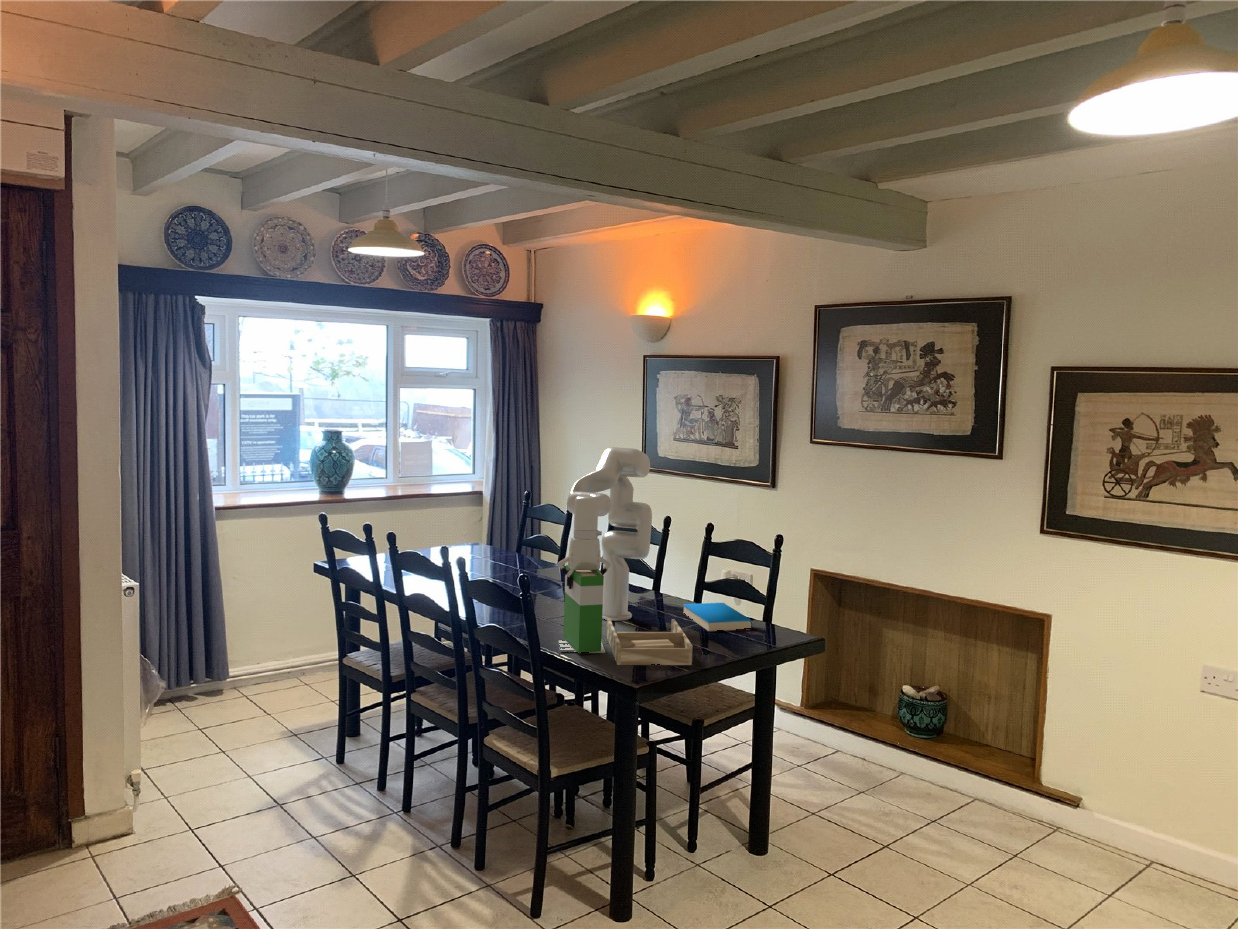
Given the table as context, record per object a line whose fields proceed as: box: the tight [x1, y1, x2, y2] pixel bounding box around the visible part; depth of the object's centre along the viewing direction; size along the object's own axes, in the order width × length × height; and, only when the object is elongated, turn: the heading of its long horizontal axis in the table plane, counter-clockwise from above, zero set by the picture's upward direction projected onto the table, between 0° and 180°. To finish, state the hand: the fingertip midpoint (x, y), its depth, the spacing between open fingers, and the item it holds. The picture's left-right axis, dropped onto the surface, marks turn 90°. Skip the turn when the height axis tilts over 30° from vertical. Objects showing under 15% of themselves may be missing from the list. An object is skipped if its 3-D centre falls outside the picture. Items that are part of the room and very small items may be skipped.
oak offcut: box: [631, 639, 674, 648], centre depth 280 cm, size 6×12×3 cm, turn 105°
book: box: [683, 602, 753, 632], centre depth 330 cm, size 17×4×25 cm
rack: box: [606, 618, 694, 666], centre depth 290 cm, size 31×23×7 cm
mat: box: [558, 639, 606, 654], centre depth 290 cm, size 12×14×1 cm
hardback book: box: [563, 564, 604, 654], centre depth 289 cm, size 18×7×24 cm, turn 19°
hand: (583, 588), depth 289 cm, fingers closed on hardback book, 8 cm apart
